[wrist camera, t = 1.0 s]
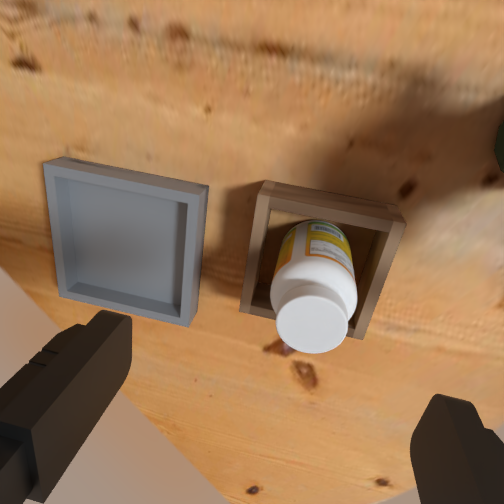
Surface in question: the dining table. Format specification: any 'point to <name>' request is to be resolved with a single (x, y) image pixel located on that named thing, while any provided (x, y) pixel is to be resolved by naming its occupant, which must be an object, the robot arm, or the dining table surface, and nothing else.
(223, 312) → the dining table surface
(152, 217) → the tray
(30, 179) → the dining table surface
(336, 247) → the supplement bottle
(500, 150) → the character mug
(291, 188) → the holder
